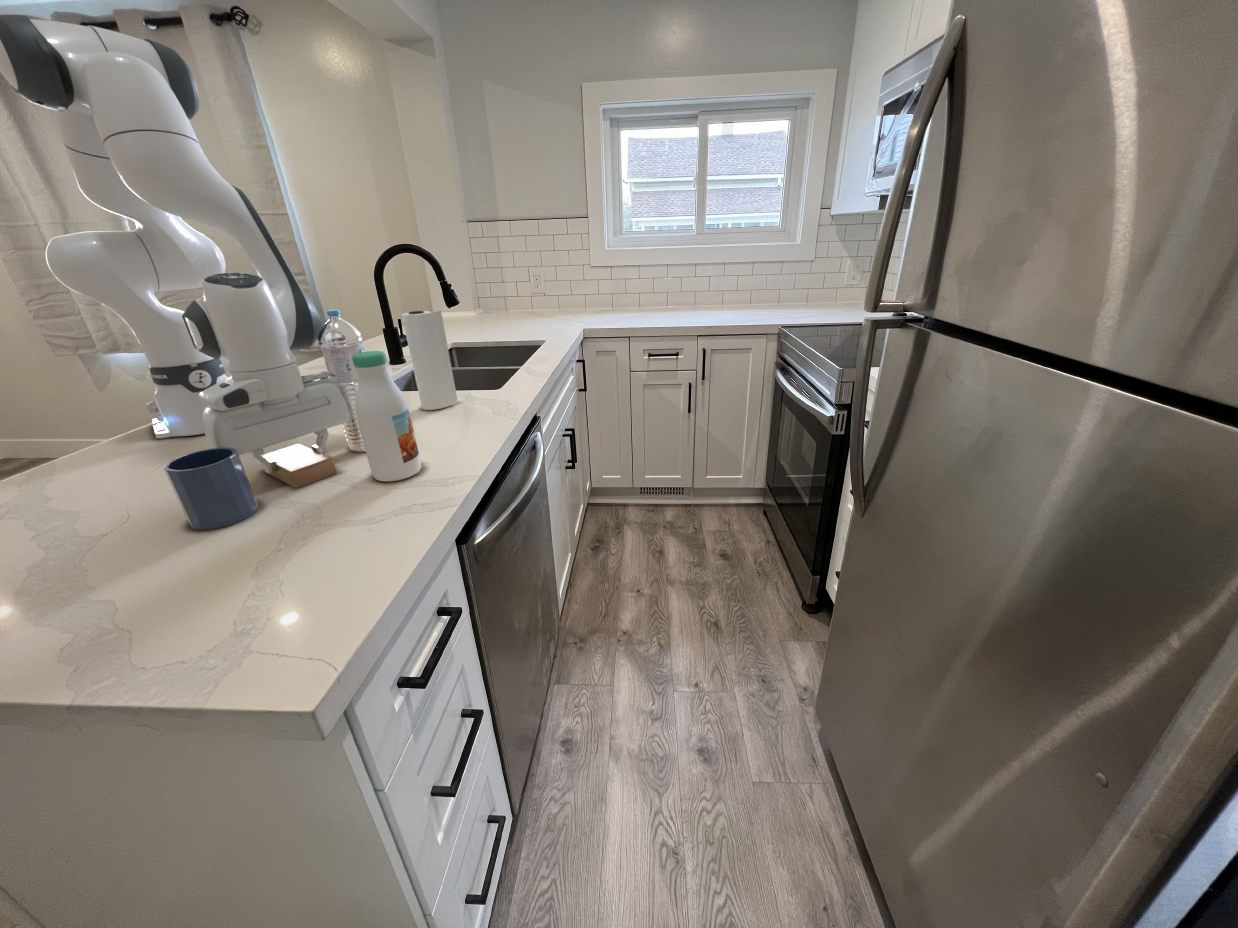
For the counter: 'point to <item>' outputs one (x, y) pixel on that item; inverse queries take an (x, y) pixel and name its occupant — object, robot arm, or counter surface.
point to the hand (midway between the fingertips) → (297, 463)
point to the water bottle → (343, 368)
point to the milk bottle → (384, 420)
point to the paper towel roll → (430, 359)
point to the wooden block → (301, 465)
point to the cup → (212, 488)
